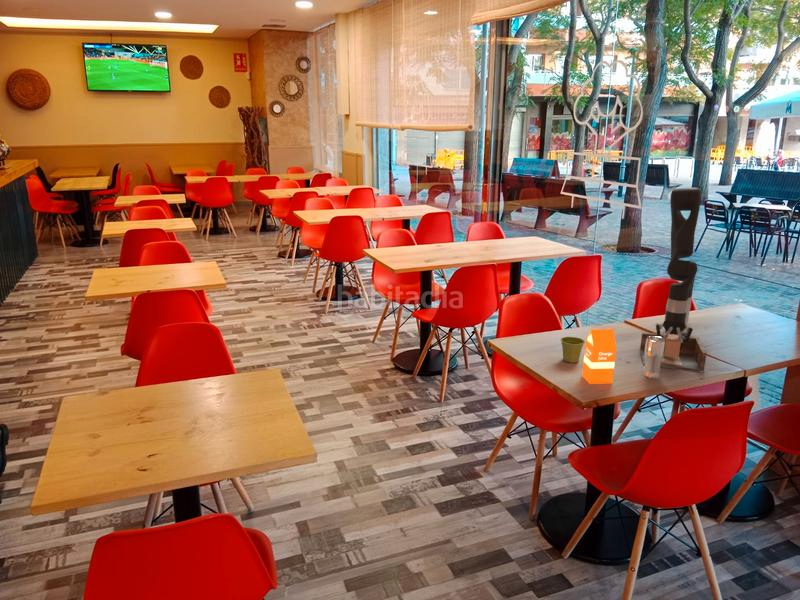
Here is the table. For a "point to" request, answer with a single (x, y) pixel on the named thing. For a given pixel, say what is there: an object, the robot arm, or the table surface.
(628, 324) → the table surface
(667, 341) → the terracotta bar
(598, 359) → the orange juice
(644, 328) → the table surface
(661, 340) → the beer glass
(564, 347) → the plant pot
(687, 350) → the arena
